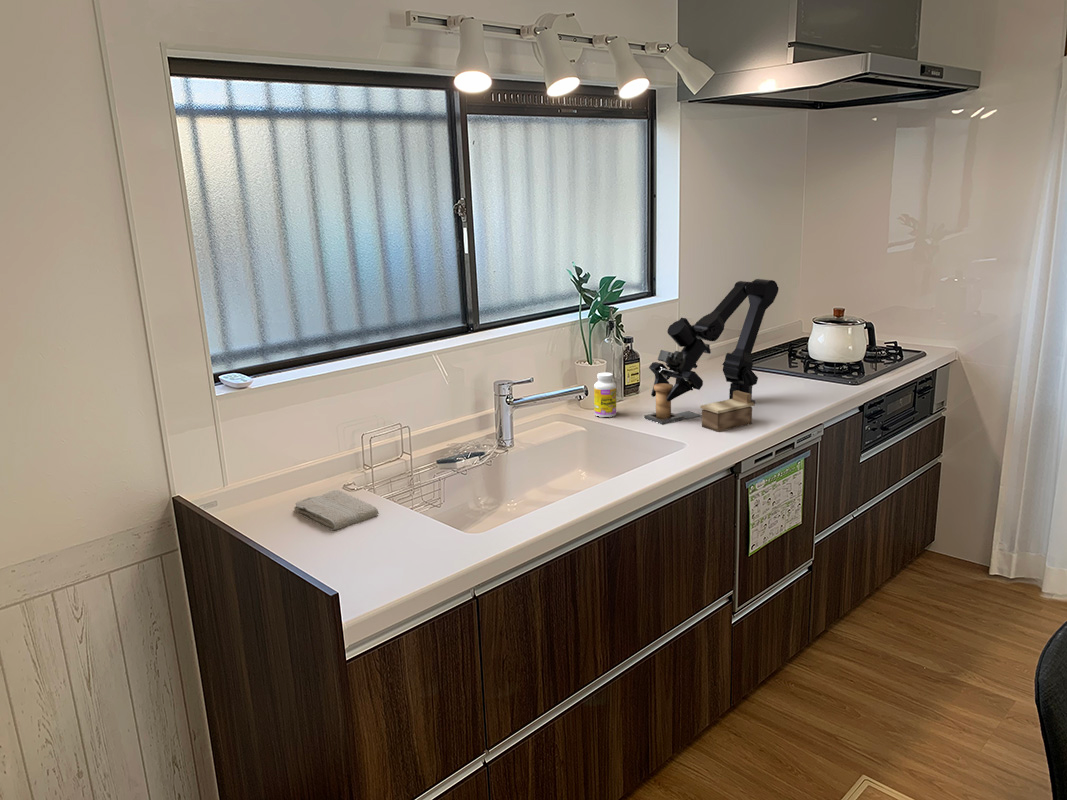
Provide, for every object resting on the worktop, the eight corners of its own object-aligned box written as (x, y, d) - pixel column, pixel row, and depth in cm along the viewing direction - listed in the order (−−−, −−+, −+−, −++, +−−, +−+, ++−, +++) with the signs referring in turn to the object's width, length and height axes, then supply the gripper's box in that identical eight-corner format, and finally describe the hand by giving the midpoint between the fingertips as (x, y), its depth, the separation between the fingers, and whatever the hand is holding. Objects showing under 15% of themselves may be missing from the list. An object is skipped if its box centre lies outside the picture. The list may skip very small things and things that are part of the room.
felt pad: (688, 411, 252) (688, 410, 252) (702, 416, 247) (702, 415, 247) (673, 415, 249) (673, 414, 249) (686, 419, 244) (686, 418, 244)
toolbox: (735, 418, 243) (736, 402, 241) (751, 423, 237) (752, 406, 236) (701, 426, 236) (702, 409, 235) (717, 431, 231) (717, 414, 230)
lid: (736, 400, 242) (736, 389, 241) (754, 405, 236) (754, 394, 235) (700, 408, 235) (700, 397, 234) (717, 413, 229) (718, 402, 228)
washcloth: (336, 498, 194) (335, 485, 193) (381, 517, 181) (380, 503, 180) (290, 513, 185) (289, 500, 185) (334, 534, 173) (333, 520, 172)
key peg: (664, 415, 249) (664, 382, 246) (677, 419, 244) (677, 385, 242) (650, 418, 246) (649, 385, 244) (662, 422, 242) (662, 388, 239)
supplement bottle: (598, 419, 248) (598, 377, 244) (591, 413, 254) (590, 372, 251) (619, 416, 249) (619, 375, 246) (611, 411, 256) (611, 370, 252)
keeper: (665, 413, 251) (665, 410, 250) (682, 419, 244) (682, 416, 244) (644, 418, 247) (644, 415, 246) (661, 424, 240) (661, 421, 240)
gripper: (653, 335, 249) (624, 376, 247) (695, 344, 233) (665, 388, 231) (674, 357, 255) (645, 398, 252) (716, 367, 239) (686, 410, 237)
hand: (659, 398), depth 243 cm, fingers open, 7 cm apart
